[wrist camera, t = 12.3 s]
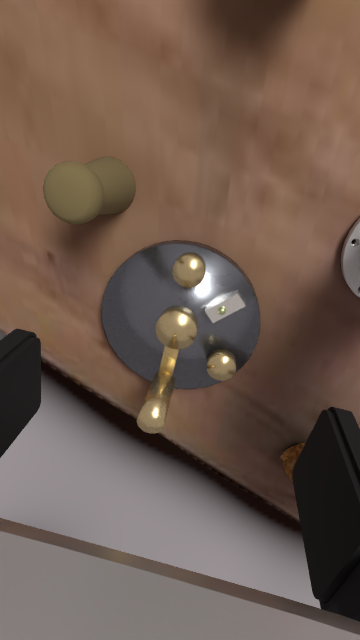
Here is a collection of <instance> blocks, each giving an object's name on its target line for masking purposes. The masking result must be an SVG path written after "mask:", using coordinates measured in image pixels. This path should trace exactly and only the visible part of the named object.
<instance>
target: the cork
mask: <svg viewBox="0 0 360 640" xmlns="http://www.w3.org/2000/svg"><path fill="white" fill-rule="evenodd" d="M43 192H44V198H45V201H46V203H47V205H48V207H49V209H50V210H51V211H52V213H53V214H54V215H55V216H56V217H58V218H59V219H60V220H62V221H65V222H67V223H70V224H83V223H87V222H89V221H91V220H92V219H94V218H95V217H96V216H97V215H98V214H116V213H120V212H123V211H124V210H125V209H127V208H128V207H129V206H130V204H131V203H132V201H133V199H134V196H135V180H134V177H133V174H132V173H131V171H130V169H129V168H128V166H127V165H125V164H124V163H123V162H122V161H121V160H118V159H116V158H114V157H102V158H99V159H96V160H94V161H91V162H89V163H86V164H81V163H79V162H68V161H65V162H62V163H59V164H57V165H55V166H54V167H53V168H52V169H51V170H50V171H48V173H47V175H46V177H45V179H44V185H43Z"/></svg>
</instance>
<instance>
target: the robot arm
mask: <svg viewBox="0 0 360 640" xmlns="http://www.w3.org/2000/svg"><path fill="white" fill-rule="evenodd" d="M353 239H355V242H354V243H351V241H352V240H353ZM341 268H342V274H343V276H344V279H345V281H346V283H347V284H348V286H349V287H350V289H351V290H352V291H353V292H354V293H355V295H357V296H358V297H359V298H360V289H358V288H359V287H360V218H359V219H358V220H357V221H356V223H355V224H354V225H353V227H352V228H351V230H350V231H349V233H348V235H347V237H346V239H345V242H344V245H343V249H342V252H341ZM40 403H41V342H40V339H39V338H37V337H36V334H35V333H33V332H29V331H25V330H21V329H15V330H13V331H12V332H11V333H10V334H8V335H7V336H6V337H4V338H3V339H2V340H0V458H1V456H2V455H3V454H4V453H5V451H6V450H7V449H8V448H9V446H10V445H11V444H12V443H13V441H14V440H15V439H16V437H17V436H18V435H19V434H20V432H21V431H22V429H24V427H25V426H26V425H27V423H28V422H29V421H30V420H31V418H32V417H33V416H34V415H35V413H36V412H37V411H38V409H39V407H40ZM292 478H293V484H294V490H295V496H296V501H297V507H298V513H299V518H300V524H301V530H302V535H303V541H304V547H305V552H306V557H307V563H308V569H309V575H310V580H311V586H312V591H313V595H314V597H315V598H316V599H319V601H320V605H321V609H319V608H316V607H313V606H309V605H306V604H303V603H299V602H296V601H293V600H289V599H286V598H283V597H280V596H276V595H273V594H269V593H266V592H262V591H258V590H255V589H252V588H248V587H245V586H241V585H238V584H234V583H231V582H227V581H224V580H220V579H217V578H213V577H210V576H206V575H203V574H199V573H196V572H192V571H189V570H185V569H182V568H178V567H174V566H171V565H168V564H164V563H160V562H157V561H153V560H150V559H146V558H143V557H139V556H136V555H132V554H129V553H125V552H121V551H118V550H114V549H111V548H107V547H103V546H100V545H96V544H93V543H89V542H85V541H82V540H78V539H75V538H71V537H67V536H64V535H60V534H57V533H53V532H49V531H46V530H42V529H38V528H35V527H31V526H27V525H24V524H20V523H16V522H12V521H9V520H5V519H2V518H0V640H360V429H359V427H358V424H357V422H356V420H355V418H354V416H353V414H352V412H350V411H347V410H343V409H339V408H335V407H330V408H329V409H328V410H323V411H322V412H321V414H320V416H319V418H318V420H317V422H316V424H315V426H314V428H313V430H312V432H311V434H310V436H309V438H308V440H307V442H306V443H305V445H304V447H303V449H302V451H301V453H300V455H299V457H298V459H297V461H296V463H295V465H294V468H293V472H292Z"/></svg>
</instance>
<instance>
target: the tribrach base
mask: <svg viewBox="0 0 360 640" xmlns="http://www.w3.org/2000/svg"><path fill="white" fill-rule="evenodd" d="M172 306H182V307H185V308H187V309H189V310H190V311H192V312H193V313H194V315H195V316H196V318H197V320H198V330H197V335H196V338H195V340H194V342H193V343H192V344H191V345H190V346H188V347H186V348H184V349H179V352H178V356H177V360H176V364H175V368H174V371H173V376H174V378H175V385H174V388H180V389H195V388H202V387H206V386H210V385H213V384H216V383H219V382H221V381H223V380H228V379H230V378H231V377H233V376H234V374H235V373H236V372H237V371H238V370H239V369H240V368H241V367H242V366H243V365H244V364H245V363H246V361H247V360H248V359H249V357H250V356H251V354H252V352H253V351H254V348H255V346H256V344H257V340H258V337H259V332H260V312H259V306H258V300H257V296H256V293H255V291H254V288H253V286H252V284H251V282H250V280H249V279H248V277H247V276H246V274H245V273H244V271H243V270H242V269H241V268H240V267H239V266H238V265H237V264H236V263H235V262H234V261H233V260H231V259H230V258H229V257H228V256H226V255H225V254H223V253H222V252H220V251H218V250H216V249H214V248H212V247H210V246H207V245H204V244H201V243H197V242H191V241H180V240H173V241H164V242H160V243H156V244H153V245H150V246H148V247H145V248H143V249H141V250H140V251H138V252H136V253H135V254H134V255H132V256H131V257H130V258H128V259H127V260H126V261H125V262H124V263H123V264H122V265H121V266H120V267H119V268H118V269H117V270H116V272H115V273H114V274H113V276H112V277H111V279H110V281H109V283H108V285H107V287H106V290H105V293H104V296H103V302H102V321H103V326H104V330H105V333H106V336H107V338H108V341H109V343H110V345H111V346H112V348H113V350H114V351H115V353H116V354H117V355H118V357H119V358H120V359H121V360H122V361H123V362H124V363H125V364H126V365H127V366H128V367H129V368H130V369H131V370H133V371H134V372H136V373H137V374H138V375H140V376H142V377H143V378H145V379H147V380H149V381H152V379H153V376H154V375H155V374H156V373H157V372H159V369H160V365H161V360H162V356H163V352H164V347H165V345H164V344H162V343H161V342H160V340H159V339H158V337H157V335H156V330H155V328H156V324H157V321H158V319H159V317H160V315H161V314H162V312H163V311H164V310H165V309H167V308H169V307H172Z"/></svg>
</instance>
